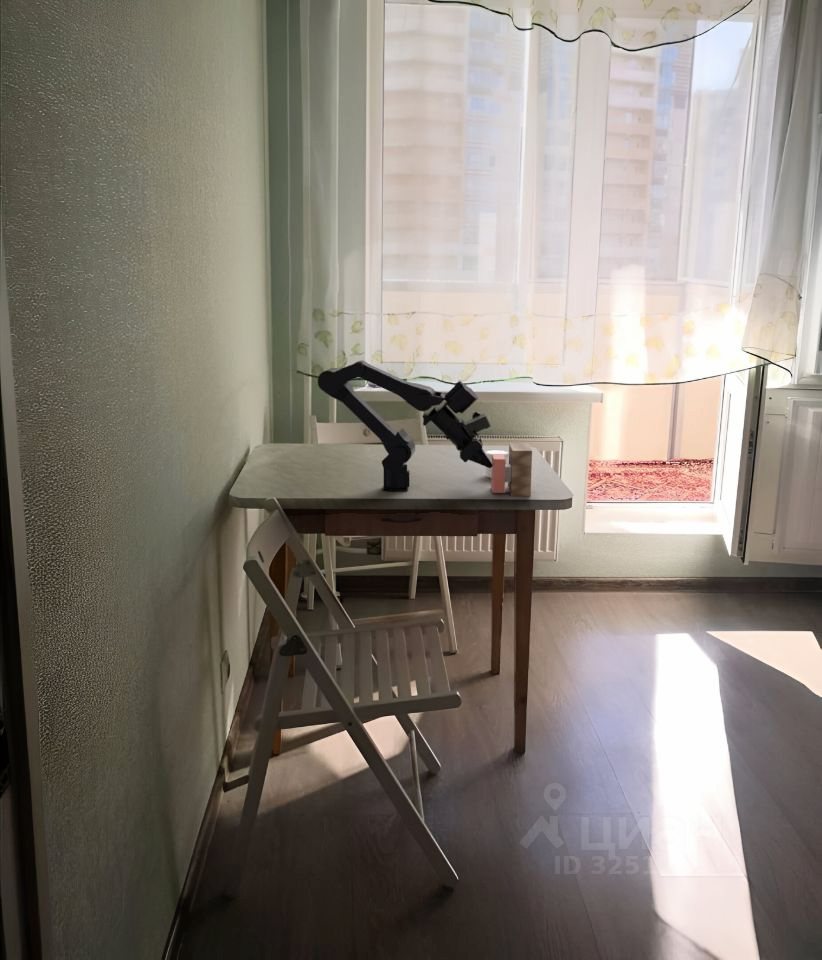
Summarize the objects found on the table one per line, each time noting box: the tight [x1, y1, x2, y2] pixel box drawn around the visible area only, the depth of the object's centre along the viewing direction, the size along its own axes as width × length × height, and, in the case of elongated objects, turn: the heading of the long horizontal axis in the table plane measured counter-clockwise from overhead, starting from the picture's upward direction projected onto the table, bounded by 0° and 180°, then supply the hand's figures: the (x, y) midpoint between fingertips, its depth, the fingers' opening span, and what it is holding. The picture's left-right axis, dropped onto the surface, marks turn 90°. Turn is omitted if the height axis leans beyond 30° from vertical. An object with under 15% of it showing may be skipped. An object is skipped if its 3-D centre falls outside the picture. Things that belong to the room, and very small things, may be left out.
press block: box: [507, 442, 533, 497], centre depth 243 cm, size 5×10×12 cm, turn 179°
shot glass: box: [484, 449, 509, 479], centre depth 260 cm, size 7×7×7 cm
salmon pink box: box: [490, 454, 511, 494], centre depth 243 cm, size 9×7×9 cm
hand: (491, 466), depth 243 cm, fingers closed
